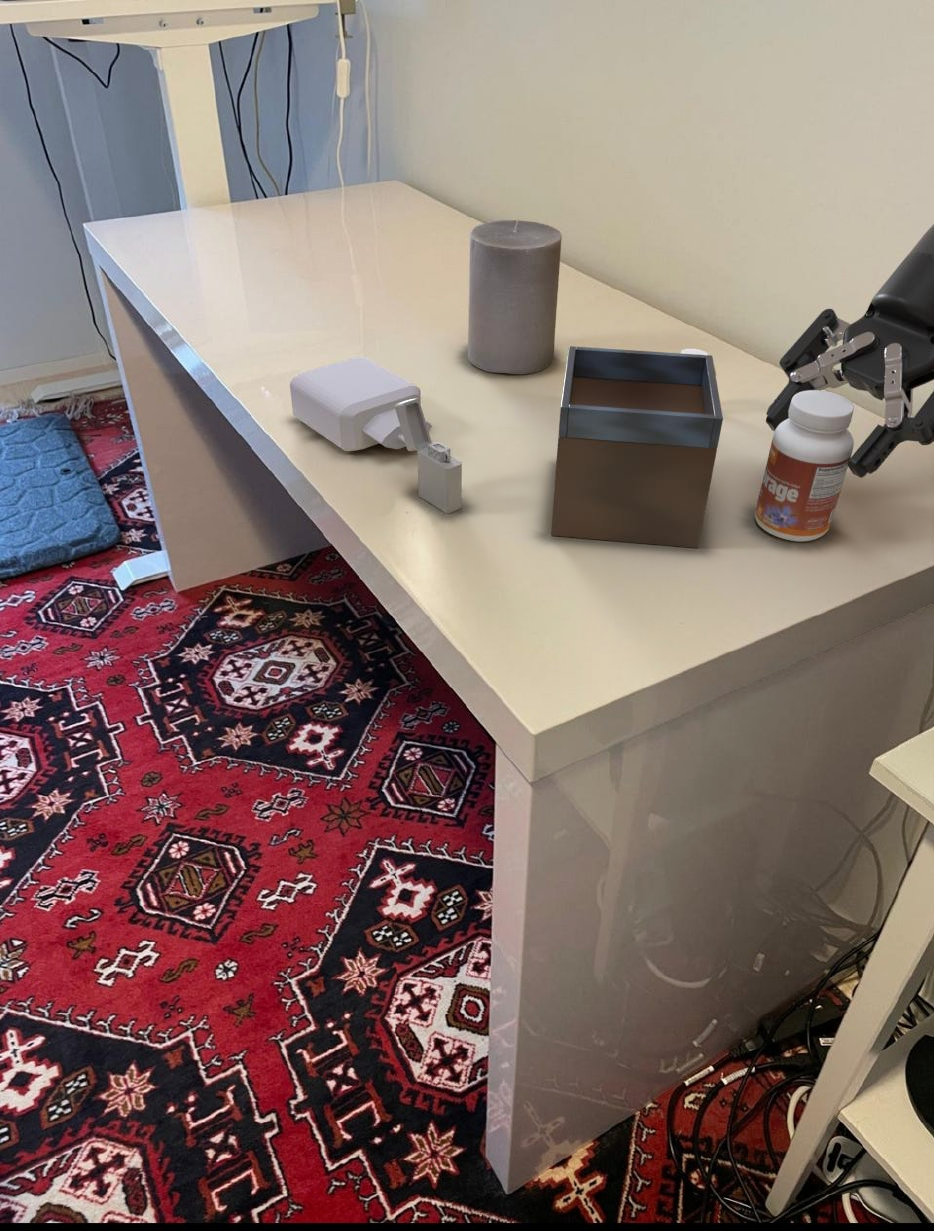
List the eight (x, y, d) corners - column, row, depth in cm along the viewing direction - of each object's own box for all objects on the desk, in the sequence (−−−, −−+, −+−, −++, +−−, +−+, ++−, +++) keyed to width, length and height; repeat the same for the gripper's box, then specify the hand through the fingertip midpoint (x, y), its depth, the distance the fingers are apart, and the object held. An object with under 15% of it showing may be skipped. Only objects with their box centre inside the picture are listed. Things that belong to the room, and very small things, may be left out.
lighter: (462, 507, 82) (463, 422, 77) (447, 514, 81) (447, 428, 76) (412, 475, 86) (410, 393, 81) (396, 481, 85) (393, 398, 80)
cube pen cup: (691, 476, 87) (712, 355, 80) (698, 548, 77) (723, 418, 70) (559, 465, 88) (569, 345, 81) (550, 535, 79) (560, 406, 72)
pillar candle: (516, 335, 113) (523, 202, 104) (571, 363, 107) (583, 223, 98) (449, 354, 108) (450, 215, 99) (502, 383, 102) (508, 239, 93)
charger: (380, 481, 85) (293, 421, 94) (460, 451, 90) (370, 397, 99) (378, 433, 82) (288, 376, 92) (461, 405, 87) (368, 353, 96)
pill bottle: (739, 511, 82) (765, 390, 75) (800, 500, 84) (831, 381, 77) (780, 549, 77) (812, 424, 71) (844, 537, 79) (881, 413, 72)
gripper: (861, 227, 76) (729, 392, 78) (1024, 279, 67) (870, 465, 69) (886, 283, 82) (762, 435, 84) (1040, 338, 72) (897, 508, 74)
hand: (811, 448), depth 76 cm, fingers open, 8 cm apart
